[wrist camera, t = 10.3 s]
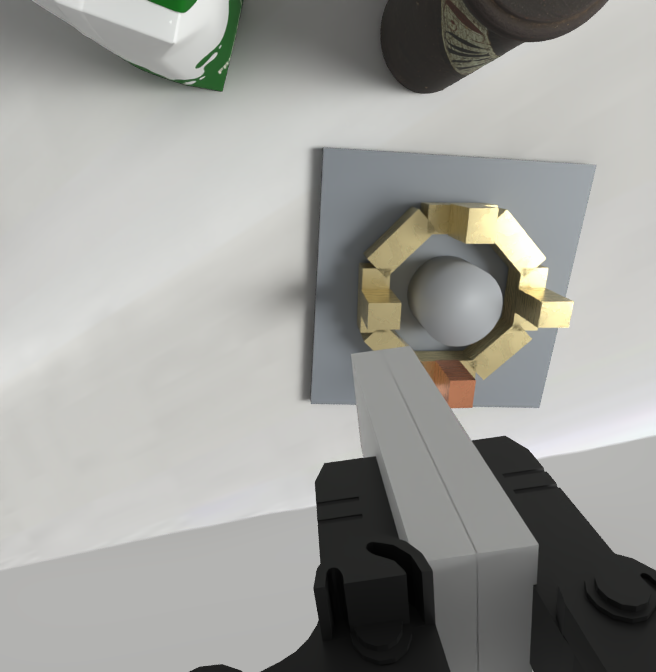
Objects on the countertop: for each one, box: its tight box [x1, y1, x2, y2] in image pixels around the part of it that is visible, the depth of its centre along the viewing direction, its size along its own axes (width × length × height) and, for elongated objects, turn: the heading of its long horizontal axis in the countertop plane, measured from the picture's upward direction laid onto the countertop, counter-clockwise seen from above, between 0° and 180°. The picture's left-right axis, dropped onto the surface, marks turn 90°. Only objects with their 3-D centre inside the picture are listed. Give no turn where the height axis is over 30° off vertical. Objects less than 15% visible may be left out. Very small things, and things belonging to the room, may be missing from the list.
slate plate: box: [311, 147, 596, 408], centre depth 42 cm, size 24×24×6 cm
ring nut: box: [357, 202, 574, 408], centre depth 41 cm, size 17×17×7 cm
